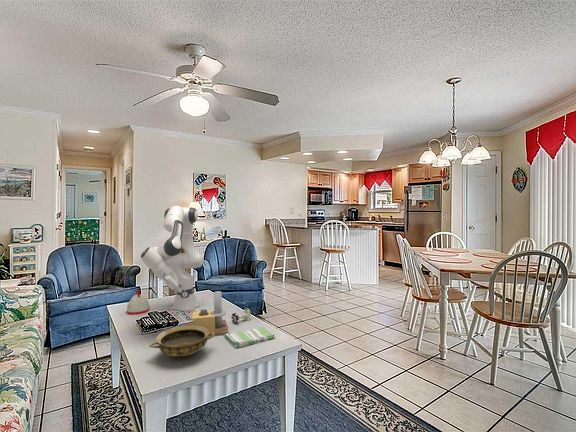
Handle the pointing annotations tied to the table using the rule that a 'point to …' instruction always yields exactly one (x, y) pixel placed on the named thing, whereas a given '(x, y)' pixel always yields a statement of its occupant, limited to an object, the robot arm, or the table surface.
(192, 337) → the ceramic bowl
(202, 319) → the square hole block
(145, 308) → the kitchen timer
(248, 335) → the dish towel
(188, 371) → the table surface
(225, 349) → the table surface
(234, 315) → the valve
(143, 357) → the table surface
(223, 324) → the base board
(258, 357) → the table surface
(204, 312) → the square peg
